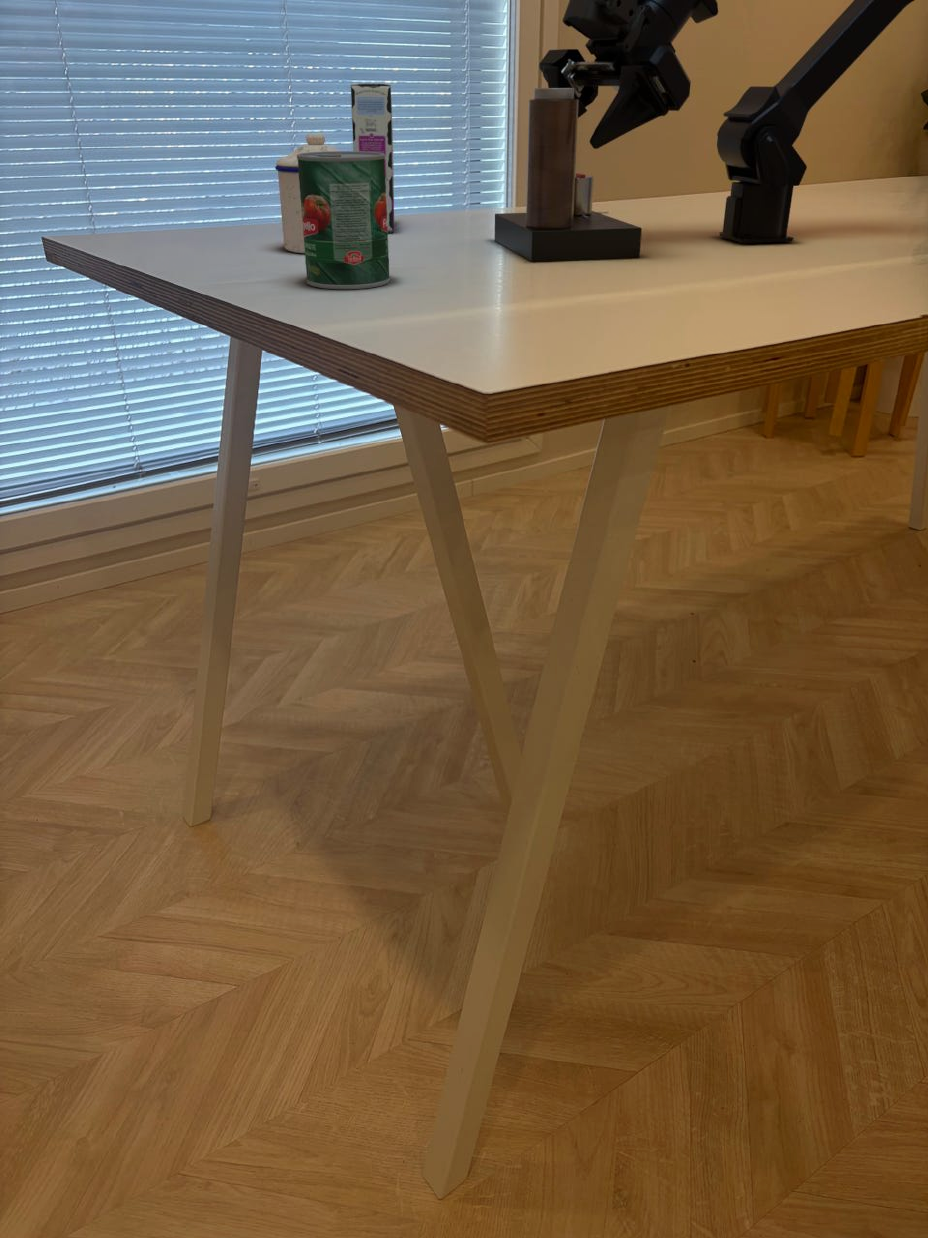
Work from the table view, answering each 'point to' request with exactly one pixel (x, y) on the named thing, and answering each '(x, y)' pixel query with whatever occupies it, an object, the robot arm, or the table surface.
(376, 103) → the candy bar box
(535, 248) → the stove
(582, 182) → the knob
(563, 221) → the salt mill
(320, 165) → the canned tomato
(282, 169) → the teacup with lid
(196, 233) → the table surface
